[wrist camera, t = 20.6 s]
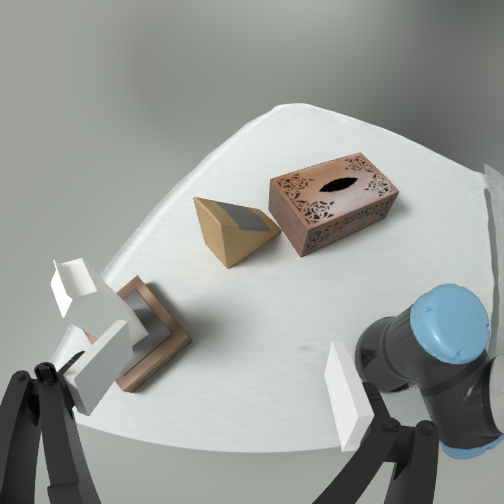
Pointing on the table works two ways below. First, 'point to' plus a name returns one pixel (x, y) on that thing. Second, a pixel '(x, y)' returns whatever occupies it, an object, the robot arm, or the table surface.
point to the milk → (91, 301)
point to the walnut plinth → (148, 336)
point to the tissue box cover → (329, 201)
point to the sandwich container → (233, 229)
